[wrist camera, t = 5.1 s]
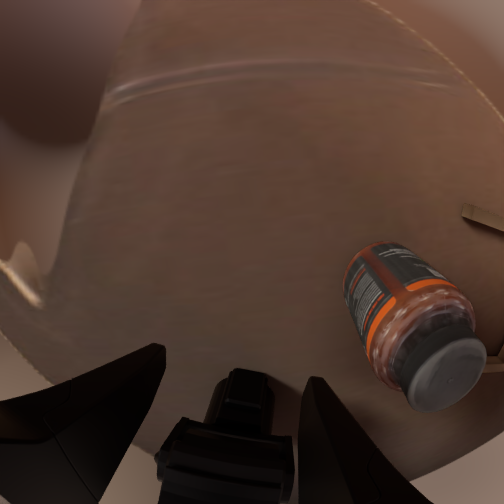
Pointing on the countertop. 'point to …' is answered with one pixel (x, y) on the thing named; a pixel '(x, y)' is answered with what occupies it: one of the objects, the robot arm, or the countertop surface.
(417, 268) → the supplement bottle
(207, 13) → the countertop surface
